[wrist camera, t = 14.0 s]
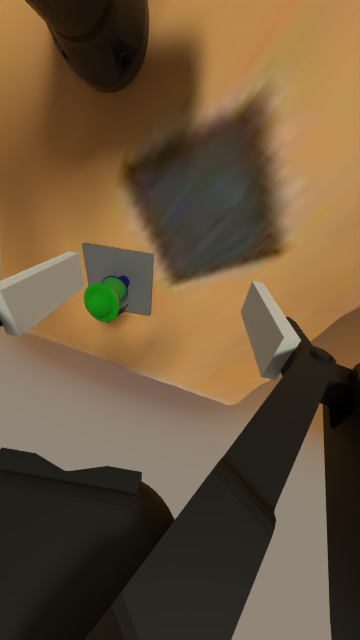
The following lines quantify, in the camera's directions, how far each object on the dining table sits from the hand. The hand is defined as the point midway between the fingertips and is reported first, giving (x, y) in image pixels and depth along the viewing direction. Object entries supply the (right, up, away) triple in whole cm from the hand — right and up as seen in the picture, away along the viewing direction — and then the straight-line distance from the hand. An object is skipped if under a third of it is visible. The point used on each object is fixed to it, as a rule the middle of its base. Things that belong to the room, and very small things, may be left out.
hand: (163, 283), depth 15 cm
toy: (-15, +7, +38) cm, 41 cm away
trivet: (-15, +8, +38) cm, 42 cm away
